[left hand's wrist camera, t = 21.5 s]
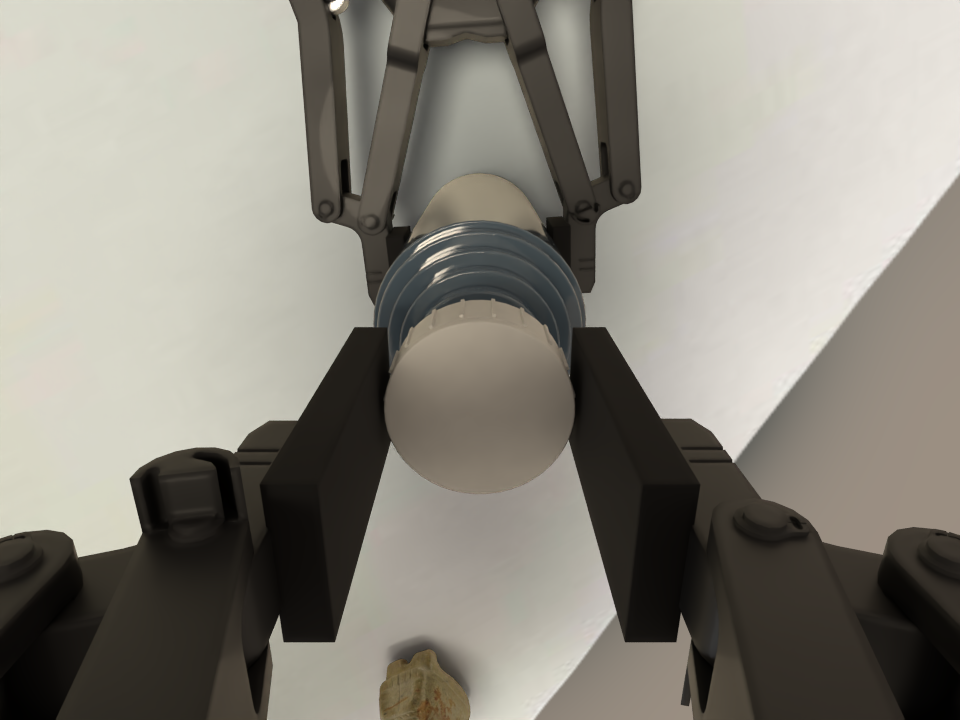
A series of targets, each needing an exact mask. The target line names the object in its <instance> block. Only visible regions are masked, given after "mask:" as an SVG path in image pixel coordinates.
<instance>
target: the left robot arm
mask: <svg viewBox="0 0 960 720" xmlns="http://www.w3.org/2000/svg"><path fill="white" fill-rule="evenodd" d="M389 370H390V365H389V347H388V330H387V327H355V328H354V329H353V331H352V333H351V334H350V336H349V337H348V339H347V341H346V342H345V344H344V346H343V347H342V349H341V351H340V352H339V354H338V356H337V357H336V359H335V361H334V362H333V364H332V366H331V367H330V369H329V370H328V372H327V374H326V375H325V377H324V379H323V380H322V382H321V384H320V385H319V387H318V389H317V390H316V392H315V394H314V395H313V397H312V399H311V400H310V402H309V404H308V405H307V407H306V408H305V410H304V412H303V413H302V415H301V417H300V418H299V420H298V421H268V422H267V423H265V424H264V425H262V426H260V427H259V428H257V429H256V430H254V431H252V432H251V433H249V434H248V436H247V437H246V438H245V440H244V441H243V442H242V444H241V445H240V446H239V448H238V451H237V452H235V453H234V454H233V453H232V452H231V451H228V450H224V449H219V448H192V449H186V450H181V451H176V452H173V453H170V454H167V455H164V456H161V457H159V458H156V459H154V460H152V461H151V462H149V463H147V464H146V465H144V466H142V467H140V468H139V469H138V470H137V471H136V472H135V473H134V474H133V476H132V477H131V478H130V483H131V487H132V492H133V496H134V500H135V504H136V508H137V512H138V516H139V520H140V524H141V529H142V535H141V537H140V540H139V542H138V544H137V545H135V546H131V547H127V548H124V549H119V550H114V551H109V552H104V553H99V554H94V555H89V556H84V557H79V558H78V556H77V553H76V549H75V546H74V543H73V540H72V539H71V538H70V537H69V536H67V535H66V534H65V533H63V532H57V531H51V530H41V531H31V532H22V533H18V534H15V535H13V536H12V535H10V536H7V537H4V538H0V720H267V712H268V703H269V694H270V686H271V677H272V668H273V664H272V657H271V651H270V645H269V638H270V636H271V633H272V631H273V628H274V626H275V624H276V621H277V619H278V616H279V615H280V621H281V628H282V634H283V641H284V642H335V640H336V636H337V633H338V629H339V626H340V622H341V619H342V615H343V611H344V608H345V604H346V601H347V597H348V593H349V590H350V586H351V583H352V579H353V575H354V572H355V568H356V565H357V561H358V557H359V554H360V550H361V547H362V543H363V539H364V536H365V532H366V529H367V525H368V521H369V518H370V514H371V511H372V507H373V503H374V500H375V496H376V493H377V489H378V485H379V482H380V478H381V475H382V471H383V467H384V464H385V460H386V457H387V453H388V450H389V446H390V442H391V439H390V436H389V434H388V431H387V427H386V423H385V416H384V395H385V392H386V387H387V384H388V381H389V379H390V373H389ZM570 380H571V383H572V386H573V389H574V392H575V394H576V398H575V418H574V424H573V428H572V431H571V434H570V437H569V442H570V446H571V449H572V453H573V457H574V460H575V464H576V467H577V471H578V475H579V478H580V482H581V485H582V489H583V493H584V496H585V500H586V503H587V507H588V511H589V514H590V518H591V521H592V525H593V529H594V532H595V536H596V539H597V543H598V547H599V550H600V554H601V557H602V561H603V565H604V568H605V572H606V575H607V579H608V583H609V586H610V590H611V593H612V597H613V601H614V604H615V608H616V611H617V615H618V618H619V622H620V626H621V629H622V633H623V636H624V640H625V642H676V641H677V634H678V628H679V621H680V615H681V613H682V616H683V618H684V620H685V623H686V625H687V628H688V630H689V633H690V635H691V638H692V639H691V645H690V651H689V657H688V663H687V669H686V675H685V681H684V687H683V694H682V700H681V705H685V706H689V703H690V698H691V701H692V711H693V719H694V720H960V535H957V534H954V533H951V532H949V533H947V532H946V531H943V530H937V529H927V528H917V527H912V528H905V529H899V530H896V531H895V532H894V533H893V534H891V535H890V536H889V537H888V539H887V543H886V546H885V550H884V553H883V555H880V554H875V553H870V552H865V551H860V550H855V549H849V548H845V547H840V546H835V545H831V544H828V543H824V542H822V541H821V539H820V536H819V534H818V532H817V531H816V530H815V528H814V527H813V526H812V525H811V523H810V522H809V521H808V520H807V519H806V518H804V517H803V516H801V515H800V514H798V513H797V512H795V511H794V510H792V509H790V508H787V507H785V506H783V505H780V504H778V503H775V502H771V501H767V500H762V499H761V498H760V496H759V495H758V494H757V492H756V491H755V490H754V488H753V487H752V486H751V484H750V483H749V482H748V480H747V479H746V477H745V476H744V475H743V473H742V472H741V471H740V470H739V468H738V467H737V465H736V464H735V463H732V459H731V457H730V456H729V455H728V453H727V452H726V451H725V450H723V447H722V445H721V444H720V443H719V441H718V440H717V438H716V437H715V436H714V434H713V433H712V432H711V431H709V430H708V429H706V428H705V427H703V426H702V425H700V424H698V423H697V422H695V421H694V420H692V419H661V418H660V417H659V415H658V413H657V412H656V410H655V408H654V407H653V405H652V403H651V402H650V400H649V399H648V397H647V395H646V394H645V392H644V390H643V389H642V387H641V385H640V384H639V382H638V380H637V379H636V377H635V375H634V374H633V372H632V370H631V369H630V367H629V366H628V364H627V362H626V361H625V359H624V357H623V356H622V354H621V352H620V351H619V349H618V347H617V346H616V344H615V342H614V341H613V339H612V337H611V336H610V334H609V333H608V331H607V329H606V328H605V327H573V330H572V348H571V365H570Z"/></svg>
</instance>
